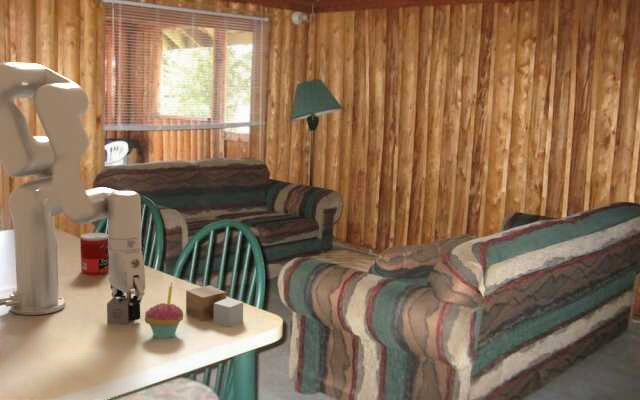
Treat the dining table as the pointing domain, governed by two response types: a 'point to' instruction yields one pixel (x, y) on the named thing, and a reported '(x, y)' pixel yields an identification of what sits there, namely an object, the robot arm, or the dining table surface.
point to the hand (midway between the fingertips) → (126, 315)
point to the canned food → (94, 253)
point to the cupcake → (164, 318)
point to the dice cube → (118, 311)
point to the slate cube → (228, 312)
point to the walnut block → (203, 301)
